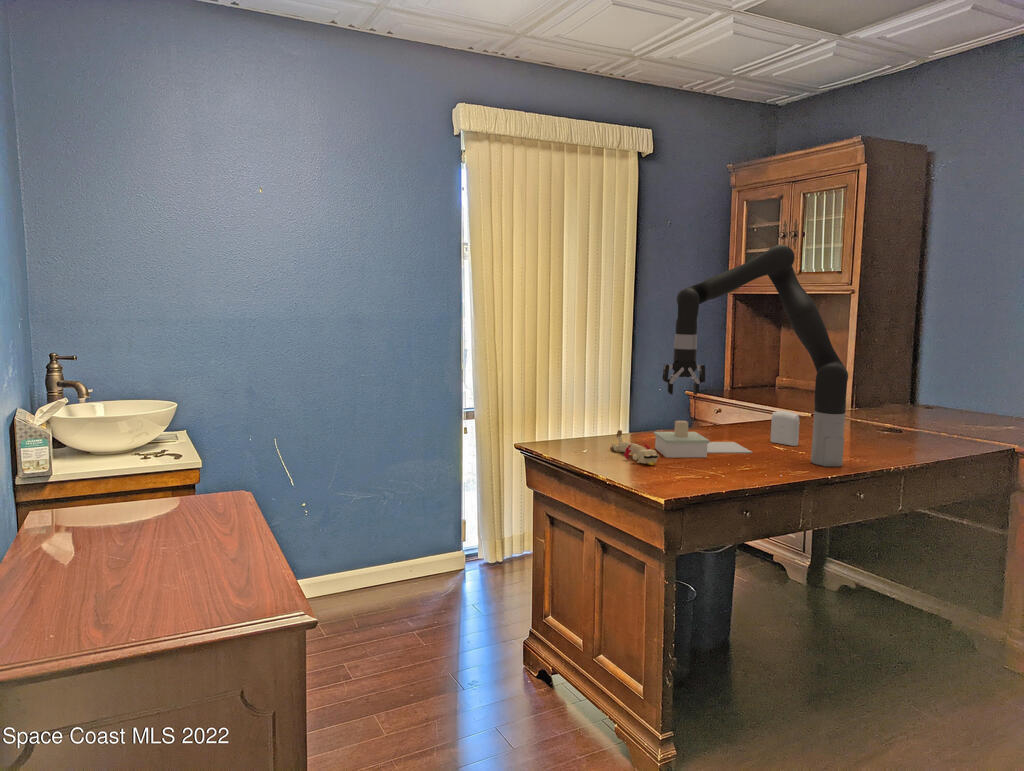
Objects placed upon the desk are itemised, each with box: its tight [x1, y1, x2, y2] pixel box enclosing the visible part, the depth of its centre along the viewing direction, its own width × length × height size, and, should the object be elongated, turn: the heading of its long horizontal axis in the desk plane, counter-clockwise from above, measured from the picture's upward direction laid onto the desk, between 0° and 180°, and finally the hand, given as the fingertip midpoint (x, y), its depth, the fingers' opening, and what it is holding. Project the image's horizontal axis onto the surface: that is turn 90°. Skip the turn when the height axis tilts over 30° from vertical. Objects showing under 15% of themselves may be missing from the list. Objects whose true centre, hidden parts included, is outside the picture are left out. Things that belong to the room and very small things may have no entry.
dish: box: [654, 436, 708, 459], centre depth 245 cm, size 14×14×5 cm
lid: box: [653, 420, 711, 443], centre depth 245 cm, size 15×15×6 cm
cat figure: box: [609, 429, 660, 466], centre depth 237 cm, size 10×9×25 cm
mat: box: [707, 441, 753, 454], centre depth 255 cm, size 17×17×1 cm
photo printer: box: [770, 410, 800, 447], centre depth 263 cm, size 10×4×12 cm, turn 39°
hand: (683, 394), depth 243 cm, fingers open, 8 cm apart
